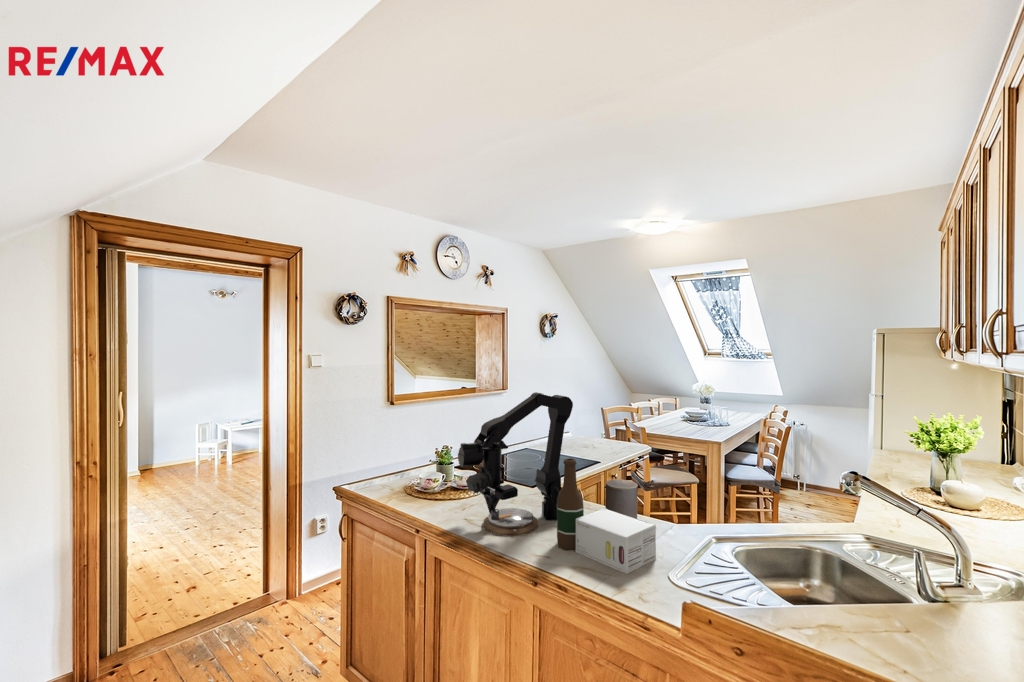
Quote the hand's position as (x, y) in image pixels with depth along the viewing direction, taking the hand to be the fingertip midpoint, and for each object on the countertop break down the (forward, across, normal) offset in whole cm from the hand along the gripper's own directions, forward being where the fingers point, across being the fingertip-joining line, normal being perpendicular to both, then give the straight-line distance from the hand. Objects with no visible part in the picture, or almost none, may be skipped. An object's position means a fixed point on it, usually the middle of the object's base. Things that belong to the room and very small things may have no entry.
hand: (491, 513), depth 150 cm
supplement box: (+3, +38, +12) cm, 40 cm away
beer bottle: (+3, +26, +8) cm, 27 cm away
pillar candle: (+3, +27, +29) cm, 40 cm away
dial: (+2, +3, +5) cm, 7 cm away
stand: (+4, +3, +5) cm, 7 cm away
